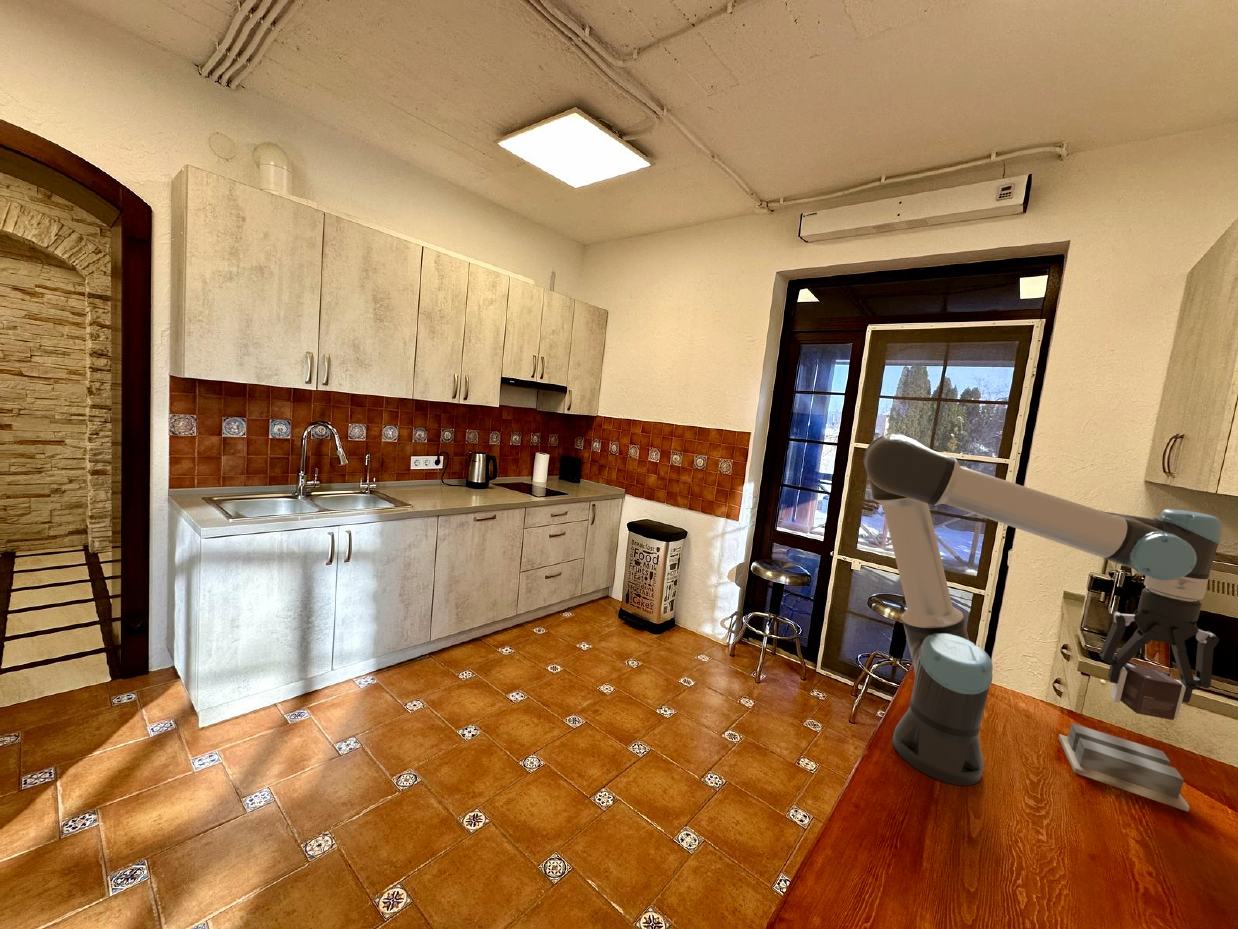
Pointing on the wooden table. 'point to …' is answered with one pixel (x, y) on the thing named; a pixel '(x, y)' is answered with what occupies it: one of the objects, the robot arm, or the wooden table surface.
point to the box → (1150, 692)
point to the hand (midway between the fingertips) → (1142, 706)
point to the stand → (1123, 765)
